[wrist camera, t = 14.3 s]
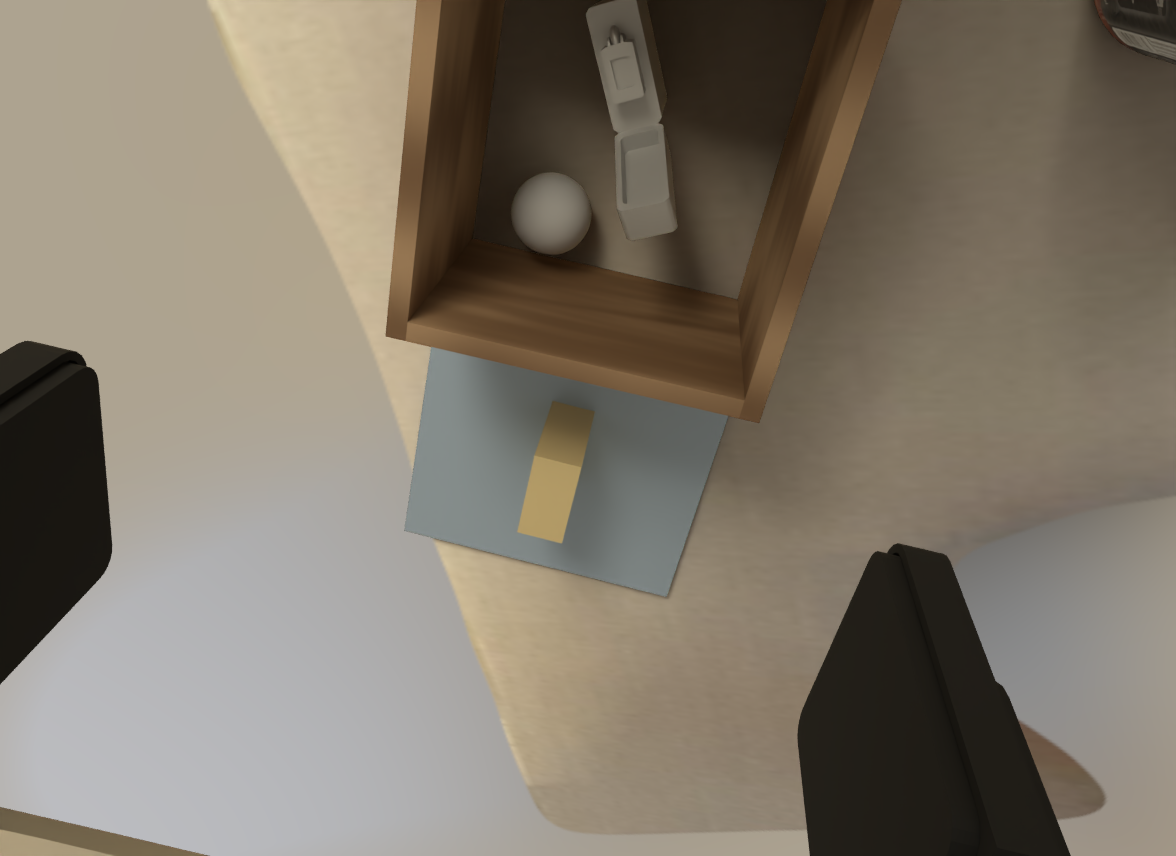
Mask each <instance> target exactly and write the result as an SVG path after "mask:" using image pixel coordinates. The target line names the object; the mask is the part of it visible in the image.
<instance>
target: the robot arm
mask: <svg viewBox="0 0 1176 856" xmlns="http://www.w3.org/2000/svg"><path fill="white" fill-rule="evenodd" d="M111 554H112V538H111V526H110V514H109V502H108V490H107V478H106V466H105V455H104V444H103V431H102V419H101V407H100V395H99V383H98V378H97V374H96V373H95V371H94V370H93V369H92V368H90V367H87V366H86V362H85V360H84V358H83V357H82V355H80V354H79V353H77V352H75V351H71V350H66V349H62V348H58V347H54V346H49V345H45V344H41V343H37V342H32V341H24V342H21V343H18V344H16V345H15V346H13V347H11V348H10V349H8V350H6V351H5V352H3V353H1V354H0V684H1V683H2V682H3V681H4V680H5V679H6V678H7V677H8V675H9V674H10V673H11V672H12V671H13V670H14V669H15V668H16V667H17V666H18V665H19V664H20V663H21V662H22V661H23V660H24V659H25V657H26V656H27V655H28V654H29V653H30V652H31V651H32V650H33V649H34V648H35V647H36V646H37V644H39V642H40V641H41V640H42V639H43V638H44V637H45V636H46V635H47V634H48V633H49V632H50V631H51V630H52V629H53V628H54V627H55V626H56V625H57V623H58V622H59V621H60V620H61V619H62V618H63V617H64V616H65V615H66V614H67V613H68V612H69V611H70V610H71V609H72V607H73V606H74V605H75V604H76V603H77V602H78V601H79V600H80V599H81V598H82V597H83V596H84V595H85V594H86V593H87V592H88V591H89V589H90V588H91V587H92V586H93V585H94V584H95V583H96V582H97V581H98V580H99V579H100V578H101V576H102V575H103V574H104V572H105V570H106V569H107V567H108V564H109V562H110V559H111ZM798 749H799V758H800V767H801V777H802V786H803V795H804V805H805V814H806V823H807V833H808V842H809V851H810V856H1071V855H1070V853H1069V850H1068V848H1067V845H1066V843H1065V840H1064V837H1063V835H1062V832H1061V830H1060V827H1059V824H1058V822H1057V819H1056V817H1055V814H1054V812H1053V809H1052V806H1051V804H1050V801H1049V799H1048V796H1047V794H1046V791H1045V788H1044V786H1043V783H1042V781H1041V778H1040V776H1039V773H1038V770H1037V768H1036V765H1035V763H1034V760H1033V758H1032V755H1031V752H1030V750H1029V747H1028V745H1027V742H1026V740H1025V737H1024V734H1023V732H1022V729H1021V727H1020V724H1019V722H1018V719H1017V716H1016V714H1015V712H1014V709H1013V706H1012V704H1011V701H1010V699H1009V697H1008V695H1007V693H1006V691H1005V689H1004V688H1003V686H1001V685H1000V684H999V683H997V682H996V681H995V679H994V676H993V673H992V671H991V668H990V665H989V663H988V660H987V657H986V655H985V652H984V650H983V647H982V644H981V641H980V639H979V636H978V634H977V631H976V628H975V626H974V623H973V620H972V618H971V615H970V613H969V610H968V607H967V605H966V602H965V599H964V597H963V594H962V591H961V589H960V586H959V583H958V581H957V578H956V576H955V573H954V570H953V568H952V565H951V562H950V560H949V559H948V557H947V556H946V555H944V554H942V553H937V552H933V551H929V550H924V549H920V548H916V547H912V546H907V545H903V544H899V543H897V544H895V545H893V546H892V547H891V548H890V549H889V551H888V553H883V552H879V551H877V552H875V553H874V554H873V555H872V556H871V558H870V560H869V562H868V564H867V566H866V568H865V571H864V573H863V575H862V577H861V580H860V582H859V584H858V586H857V588H856V591H855V593H854V595H853V597H852V600H851V602H850V604H849V606H848V609H847V611H846V613H845V615H844V618H843V620H842V622H841V624H840V626H839V629H838V631H837V633H836V635H835V638H834V640H833V642H832V644H831V647H830V649H829V651H828V653H827V656H826V658H825V660H824V662H823V664H822V667H821V669H820V671H819V673H818V676H817V678H816V680H815V682H814V685H813V687H812V689H811V691H810V693H809V696H808V698H807V700H806V702H805V705H804V707H803V710H802V712H801V716H800V720H799V726H798ZM0 856H208V855H204V854H199V853H195V852H191V851H186V850H182V849H178V848H174V847H170V846H165V845H161V844H157V843H153V842H149V841H144V840H140V839H136V838H132V837H127V836H123V835H119V834H115V833H110V832H106V831H102V830H98V829H93V828H89V827H85V826H80V825H76V824H71V823H67V822H63V821H58V820H54V819H50V818H46V817H41V816H37V815H32V814H28V813H24V812H19V811H15V810H11V809H7V808H2V807H0Z"/></svg>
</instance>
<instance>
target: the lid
mask: <svg viewBox="0 0 1176 856" xmlns="http://www.w3.org/2000/svg"><path fill="white" fill-rule="evenodd" d="M727 419H728V416H726V415H722V414H718V413H713V412H709V411H705V410H701V409H696V408H692V407H688V406H683V405H679V404H675V403H670V402H666V401H662V400H657V399H653V398H649V397H645V396H640V395H636V394H632V393H627V392H623V391H619V390H614V389H610V388H606V387H602V386H597V385H593V384H589V383H584V382H580V381H576V380H571V379H567V378H563V377H559V376H554V375H550V374H546V373H541V372H537V371H533V370H528V369H524V368H520V367H516V366H511V365H507V364H503V363H498V362H494V361H490V360H485V359H481V358H477V357H472V356H468V355H464V354H460V353H455V352H451V351H447V350H442V349H438V348H434V347H431V353H430V360H429V366H428V373H427V380H426V387H425V394H424V400H423V407H422V414H421V421H420V427H419V434H418V441H417V448H416V455H415V461H414V468H413V475H412V482H411V489H410V496H409V502H408V509H407V516H406V522H405V530H404V531H407V532H411V533H415V534H419V535H423V536H427V537H431V538H435V539H439V540H443V541H447V542H451V543H455V544H459V545H463V546H467V547H471V548H475V549H479V550H483V551H487V552H490V553H494V554H498V555H502V556H506V557H510V558H514V559H518V560H522V561H526V562H530V563H534V564H538V565H542V566H546V567H550V568H554V569H558V570H562V571H566V572H570V573H574V574H578V575H582V576H586V577H590V578H594V579H597V580H601V581H605V582H609V583H613V584H617V585H621V586H625V587H629V588H633V589H637V590H641V591H645V592H649V593H653V594H657V595H661V596H665V597H667V594H668V591H669V588H670V585H671V582H672V579H673V576H674V574H675V571H676V568H677V565H678V562H679V559H680V556H681V553H682V550H683V547H684V544H685V542H686V539H687V536H688V533H689V530H690V527H691V524H692V521H693V518H694V515H695V512H696V509H697V507H698V504H699V501H700V498H701V495H702V492H703V489H704V486H705V483H706V480H707V477H708V475H709V472H710V469H711V466H712V463H713V460H714V457H715V454H716V451H717V448H718V445H719V443H720V440H721V437H722V434H723V431H724V428H725V425H726V422H727Z"/></svg>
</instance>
